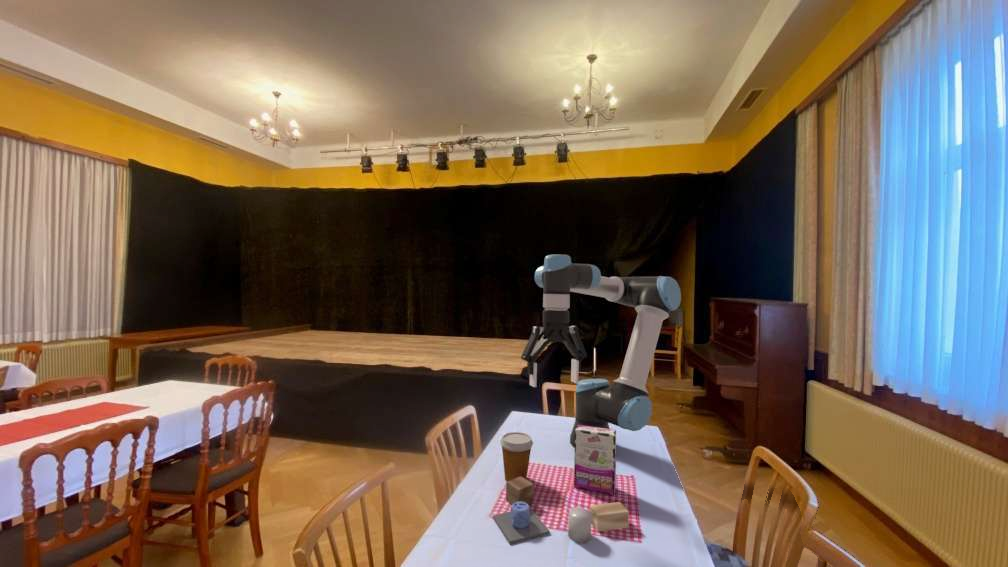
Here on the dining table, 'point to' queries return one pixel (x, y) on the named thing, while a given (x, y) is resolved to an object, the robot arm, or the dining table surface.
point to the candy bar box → (595, 459)
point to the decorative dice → (520, 514)
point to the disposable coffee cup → (516, 454)
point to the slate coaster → (520, 534)
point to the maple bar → (609, 516)
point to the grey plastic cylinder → (579, 525)
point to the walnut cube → (519, 491)
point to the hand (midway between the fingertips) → (554, 384)
